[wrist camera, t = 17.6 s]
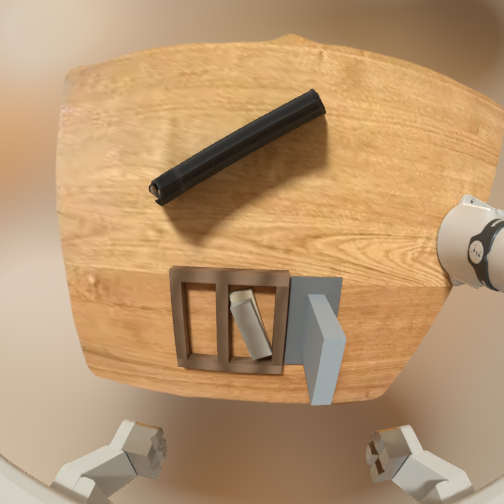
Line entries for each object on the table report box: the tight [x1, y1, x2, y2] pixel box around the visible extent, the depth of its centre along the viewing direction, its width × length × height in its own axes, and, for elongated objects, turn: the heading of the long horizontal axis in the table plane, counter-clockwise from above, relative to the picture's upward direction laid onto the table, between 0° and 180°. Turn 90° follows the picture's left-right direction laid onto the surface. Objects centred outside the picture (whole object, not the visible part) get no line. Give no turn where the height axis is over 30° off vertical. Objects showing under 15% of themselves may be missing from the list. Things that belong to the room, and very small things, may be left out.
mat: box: [284, 276, 342, 364], centre depth 49 cm, size 9×18×1 cm, turn 178°
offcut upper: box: [230, 298, 272, 360], centre depth 48 cm, size 4×11×2 cm, turn 20°
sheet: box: [301, 294, 346, 405], centre depth 42 cm, size 3×12×15 cm, turn 178°
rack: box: [169, 266, 290, 374], centre depth 49 cm, size 20×20×2 cm
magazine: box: [149, 89, 326, 206], centre depth 38 cm, size 17×3×30 cm
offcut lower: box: [229, 287, 269, 357], centre depth 50 cm, size 4×13×2 cm, turn 16°
